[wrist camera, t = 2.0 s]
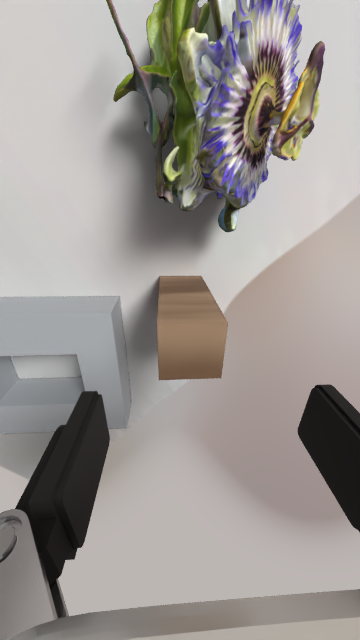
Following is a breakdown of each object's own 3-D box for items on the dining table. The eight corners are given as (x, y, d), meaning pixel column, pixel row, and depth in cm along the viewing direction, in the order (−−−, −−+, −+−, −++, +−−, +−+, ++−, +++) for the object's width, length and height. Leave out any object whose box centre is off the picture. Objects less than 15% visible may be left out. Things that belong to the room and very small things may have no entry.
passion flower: (225, 163, 22) (269, 251, 17) (112, 151, 19) (120, 250, 14) (297, -56, 12) (459, -20, 7) (90, -140, 10) (88, -191, 4)
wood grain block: (159, 276, 21) (157, 323, 12) (201, 275, 21) (227, 322, 12) (160, 313, 23) (158, 380, 14) (199, 313, 23) (221, 377, 14)
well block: (-54, 297, 21) (-99, 315, 17) (119, 296, 22) (110, 313, 18) (-2, 405, 27) (-27, 435, 23) (131, 400, 28) (126, 428, 24)
